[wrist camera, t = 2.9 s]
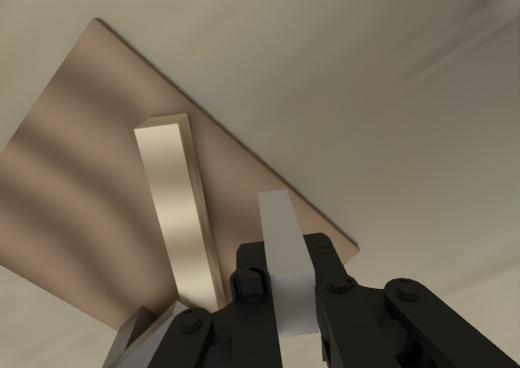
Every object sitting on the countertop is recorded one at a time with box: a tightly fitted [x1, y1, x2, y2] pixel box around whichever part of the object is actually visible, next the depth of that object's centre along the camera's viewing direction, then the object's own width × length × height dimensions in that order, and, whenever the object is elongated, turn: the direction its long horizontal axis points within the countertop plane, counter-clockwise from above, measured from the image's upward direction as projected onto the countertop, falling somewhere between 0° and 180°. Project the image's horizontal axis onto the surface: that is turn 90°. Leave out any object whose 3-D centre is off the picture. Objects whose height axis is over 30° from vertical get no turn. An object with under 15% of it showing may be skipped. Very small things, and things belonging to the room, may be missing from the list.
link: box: [134, 113, 227, 313], centre depth 29 cm, size 24×5×4 cm, turn 7°
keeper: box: [102, 301, 189, 368], centre depth 31 cm, size 12×6×7 cm, turn 137°
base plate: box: [0, 18, 360, 331], centre depth 31 cm, size 24×30×1 cm
